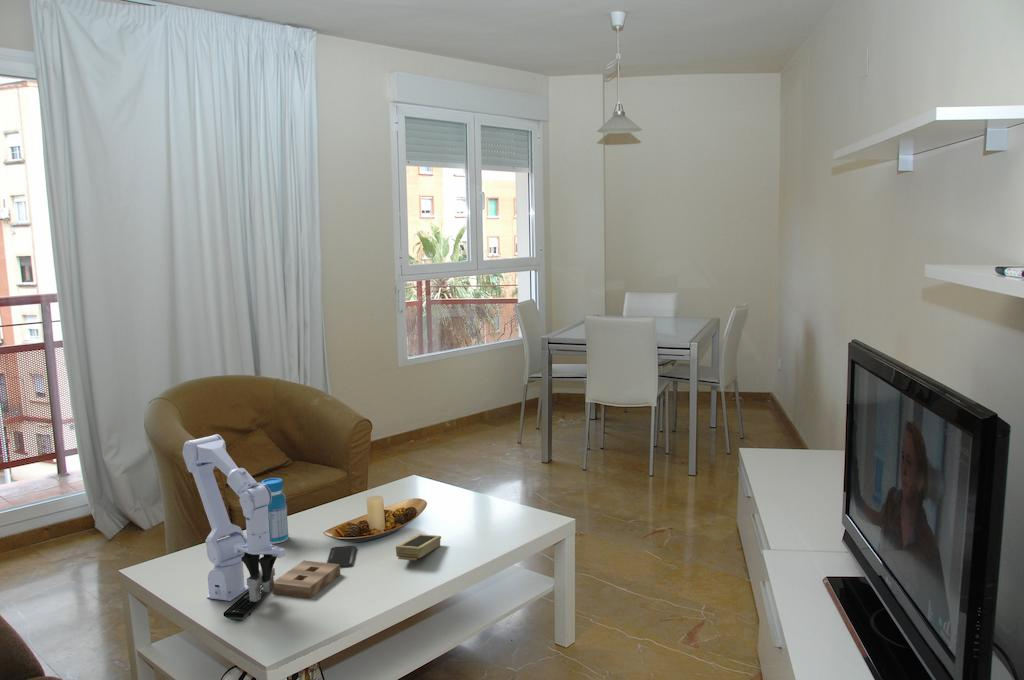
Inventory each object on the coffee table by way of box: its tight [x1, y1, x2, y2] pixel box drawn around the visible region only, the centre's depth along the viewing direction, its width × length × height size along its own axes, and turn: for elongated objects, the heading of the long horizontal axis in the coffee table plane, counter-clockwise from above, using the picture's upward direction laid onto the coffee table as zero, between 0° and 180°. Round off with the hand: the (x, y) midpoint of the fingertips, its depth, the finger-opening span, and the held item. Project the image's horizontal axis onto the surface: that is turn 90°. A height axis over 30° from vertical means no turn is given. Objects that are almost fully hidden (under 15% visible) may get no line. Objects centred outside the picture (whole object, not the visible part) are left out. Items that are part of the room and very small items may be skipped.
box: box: [395, 533, 442, 561], centre depth 243 cm, size 8×22×5 cm, turn 167°
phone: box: [326, 545, 357, 569], centre depth 242 cm, size 8×1×15 cm
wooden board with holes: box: [271, 559, 341, 599], centre depth 224 cm, size 16×12×3 cm
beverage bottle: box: [260, 477, 289, 545], centre depth 257 cm, size 8×8×20 cm
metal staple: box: [246, 567, 276, 603], centre depth 211 cm, size 8×3×6 cm, turn 162°
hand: (261, 580), depth 210 cm, fingers closed on metal staple, 3 cm apart
